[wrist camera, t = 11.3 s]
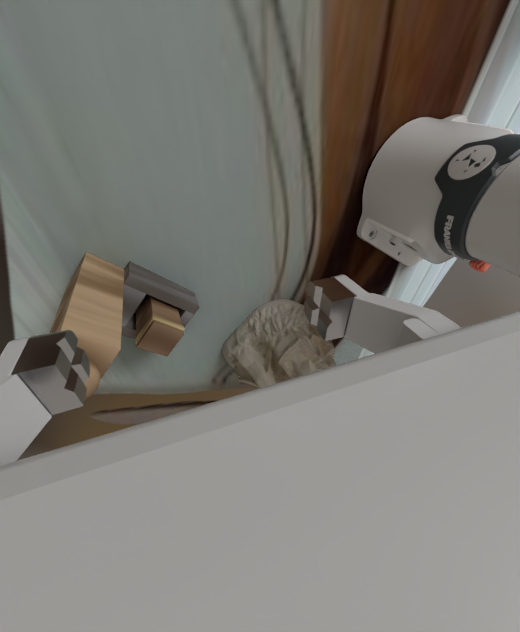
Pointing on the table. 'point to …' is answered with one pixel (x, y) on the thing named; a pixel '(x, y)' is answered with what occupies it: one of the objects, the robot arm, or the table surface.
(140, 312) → the small wooden block
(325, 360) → the ceramic cottage
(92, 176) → the table surface
